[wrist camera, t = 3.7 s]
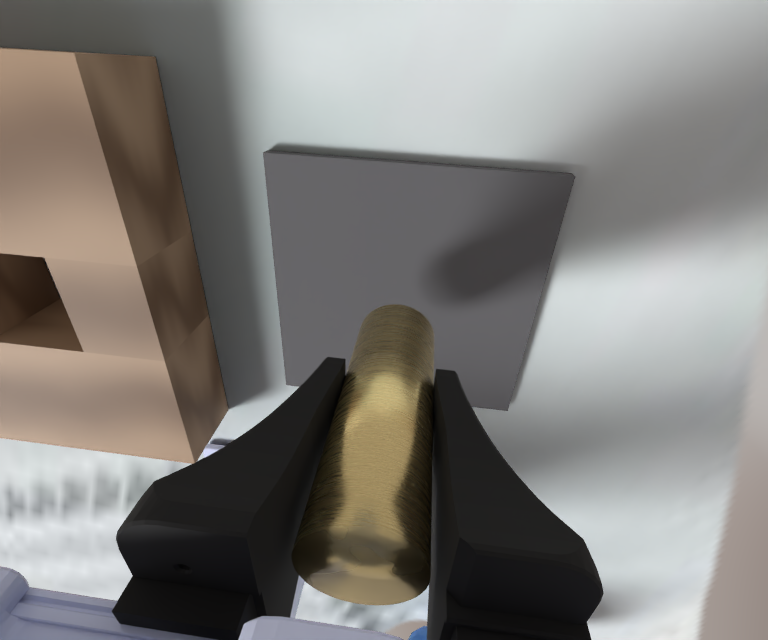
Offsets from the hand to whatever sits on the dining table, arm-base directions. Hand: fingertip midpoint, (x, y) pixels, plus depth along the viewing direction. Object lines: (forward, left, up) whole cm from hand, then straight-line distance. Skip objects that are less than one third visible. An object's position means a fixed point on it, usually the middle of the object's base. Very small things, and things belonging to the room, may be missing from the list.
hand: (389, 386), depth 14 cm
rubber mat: (0, 0, -7) cm, 7 cm away
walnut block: (0, +16, -7) cm, 17 cm away
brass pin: (0, 0, -3) cm, 3 cm away
